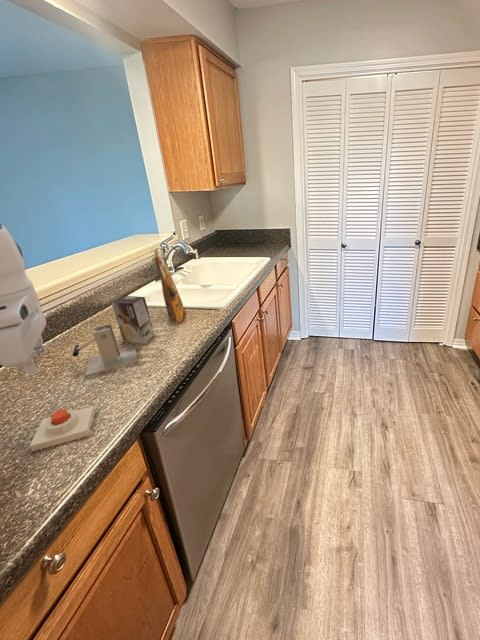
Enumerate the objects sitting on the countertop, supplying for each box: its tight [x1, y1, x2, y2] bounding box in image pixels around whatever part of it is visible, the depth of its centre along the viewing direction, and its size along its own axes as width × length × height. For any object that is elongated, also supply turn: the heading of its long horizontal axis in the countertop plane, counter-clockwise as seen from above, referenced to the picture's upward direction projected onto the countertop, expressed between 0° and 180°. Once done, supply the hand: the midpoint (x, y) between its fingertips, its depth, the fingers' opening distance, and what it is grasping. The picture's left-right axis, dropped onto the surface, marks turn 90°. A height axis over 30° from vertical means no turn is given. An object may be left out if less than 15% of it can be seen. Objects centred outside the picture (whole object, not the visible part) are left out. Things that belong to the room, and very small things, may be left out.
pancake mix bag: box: [154, 248, 185, 324], centre depth 129 cm, size 7×19×28 cm, turn 16°
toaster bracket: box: [85, 322, 138, 377], centre depth 101 cm, size 14×11×13 cm
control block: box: [29, 406, 96, 452], centre depth 77 cm, size 11×9×4 cm
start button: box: [50, 409, 69, 425], centre depth 76 cm, size 3×3×2 cm
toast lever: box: [72, 327, 107, 358], centre depth 98 cm, size 11×5×2 cm, turn 117°
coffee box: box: [111, 295, 155, 344], centre depth 114 cm, size 9×6×16 cm
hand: (36, 362), depth 70 cm, fingers open, 6 cm apart
